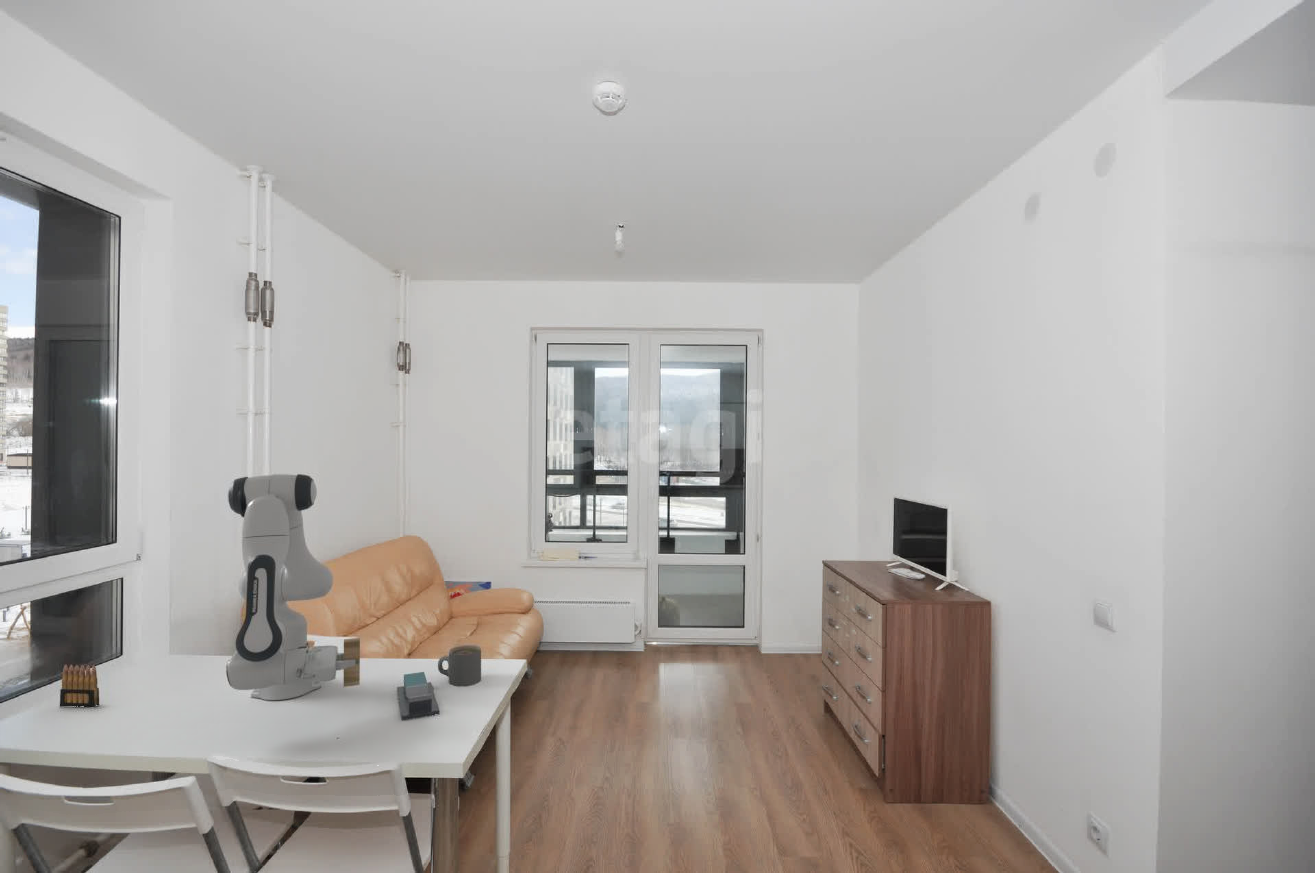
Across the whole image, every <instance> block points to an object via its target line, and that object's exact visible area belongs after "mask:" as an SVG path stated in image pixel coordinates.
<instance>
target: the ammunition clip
mask: <svg viewBox="0 0 1315 873" xmlns="http://www.w3.org/2000/svg"><path fill="white" fill-rule="evenodd" d="M63 666H64V667H63V670H62V679H61V688H60V690H59V691H60V693H59V707H60V706H76V707H75V708H81V707H80V706H84V707H83V708H85V707H94V706H96V705H99V706H100V690H99V687H98V674H97V668H96V666H95V665H92V668H91V667H90V665H89V664H88V665H87V666H86V668H85V666H84V665H83V664H81V666H80V667H79V665H78V664H76V665H75V666H73V664H70V666H69V667H68V665H67V664H64V665H63ZM77 706H78V707H77ZM96 707H97V706H96ZM94 708H95V707H94Z"/></svg>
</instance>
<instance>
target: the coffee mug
mask: <svg viewBox="0 0 1315 873" xmlns="http://www.w3.org/2000/svg"><path fill="white" fill-rule="evenodd" d="M444 661H445V662H447V664H448V665H447V669H444V667H443V662H444ZM437 669H438V672H439V673H440V674H441V675H444V676H446V677H448V684H449V685H451V686H452V685H453V687H458V688H459V687H462V686H463V687H469V685H470V686H473V685H474V686H475V685H477V684H478V683H480V682H481V681H482V648H481V647H480V646H479V645H474V644H473V645H472V644H467V645H465V644H464V645H459V646H455V647H452V648H450V649H449V651H448V655H447V654H446V655H443V656H441V657H440V658H439V659H438V662H437Z"/></svg>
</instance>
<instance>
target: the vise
mask: <svg viewBox="0 0 1315 873" xmlns="http://www.w3.org/2000/svg"><path fill="white" fill-rule="evenodd" d="M427 684H428V695H421V696H415V697H408V698H406V693H405V688H404V685H402V686H396V693H397V694H396V695H397V700H399V701H398V705H399V712H400V718H401V721H408V720H414V719H413V718H415V719H420V718H426V717H425V716H427V717H433V716H436V715H435V714H439V715H440V713H441V711H440V706H439V704H438V701H437V698H436V694H435V691H434V688H433V684H432V682H430V681H429V682H428V681H427ZM432 715H433V716H432Z"/></svg>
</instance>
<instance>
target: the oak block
mask: <svg viewBox="0 0 1315 873" xmlns="http://www.w3.org/2000/svg"><path fill="white" fill-rule="evenodd" d="M343 653H344V661H345V660H348V659H355V666H354V667H348V668H345V669H343V682H342V683H343V684H342V685H343V688H346V687H353V686H360V683H361V682H360V681H361V678H360V676H361V674H360V672H361V668H360V667H361V663H360V662H361V661H360V660H361V658H360V657H361V637H353V638H345V639H343Z"/></svg>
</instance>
